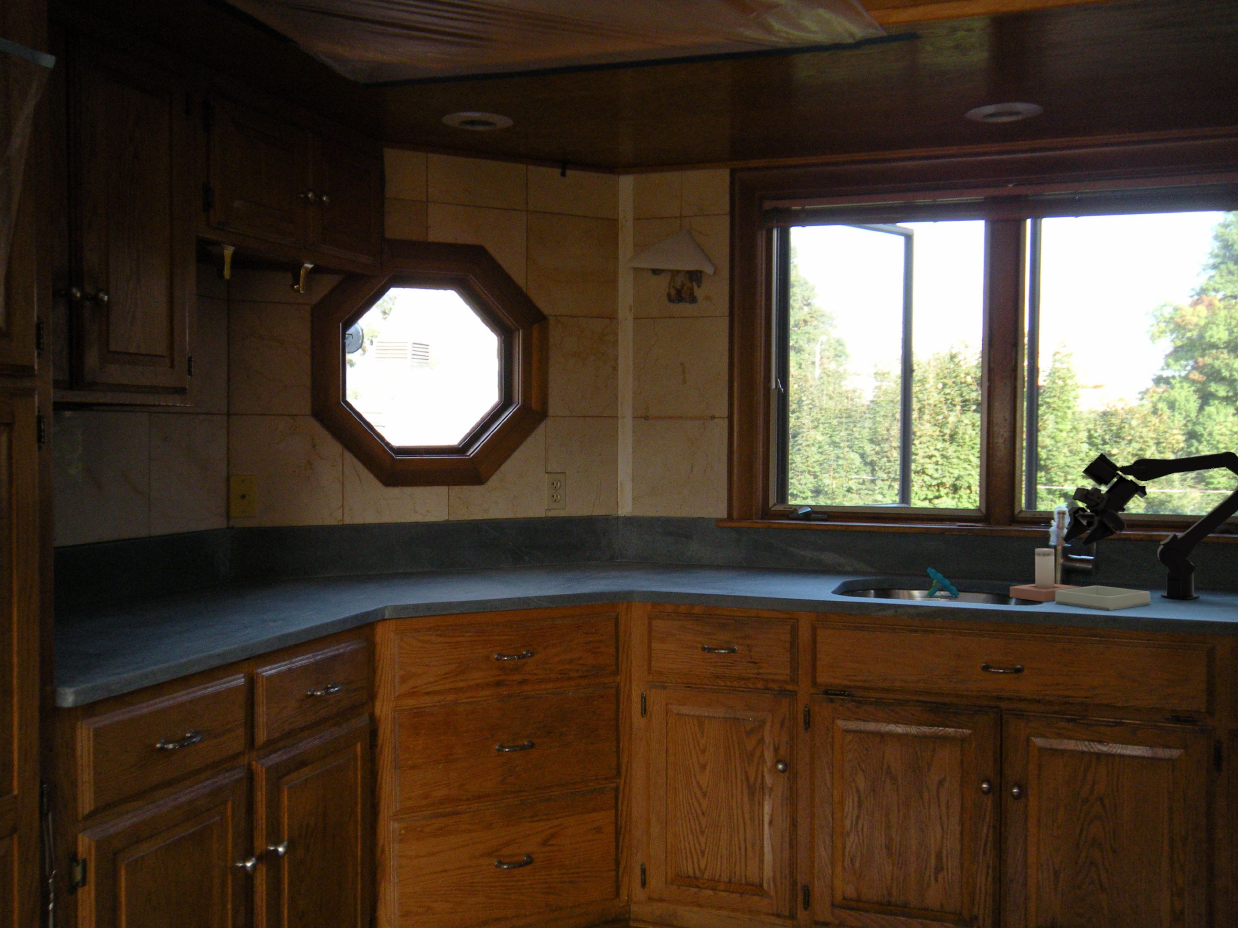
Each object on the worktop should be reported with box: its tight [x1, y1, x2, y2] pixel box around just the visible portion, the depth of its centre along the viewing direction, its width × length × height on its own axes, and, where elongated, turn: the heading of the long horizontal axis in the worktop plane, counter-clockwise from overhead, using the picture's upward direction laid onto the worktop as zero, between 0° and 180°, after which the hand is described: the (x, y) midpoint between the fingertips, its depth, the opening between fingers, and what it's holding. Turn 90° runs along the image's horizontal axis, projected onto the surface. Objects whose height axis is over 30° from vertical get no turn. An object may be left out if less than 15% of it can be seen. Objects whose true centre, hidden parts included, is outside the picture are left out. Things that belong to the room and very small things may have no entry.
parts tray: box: [1054, 585, 1151, 611], centre depth 247 cm, size 16×14×3 cm
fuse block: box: [1009, 583, 1081, 603], centre depth 260 cm, size 14×10×2 cm
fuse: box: [1034, 547, 1055, 589], centre depth 260 cm, size 4×4×12 cm
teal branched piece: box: [926, 567, 960, 598], centre depth 262 cm, size 11×6×10 cm
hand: (1073, 543), depth 260 cm, fingers open, 9 cm apart
